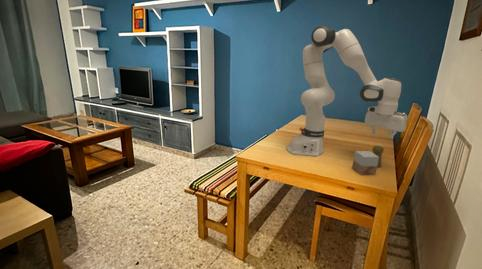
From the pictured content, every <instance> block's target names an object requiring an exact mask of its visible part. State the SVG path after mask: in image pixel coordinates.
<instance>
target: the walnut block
mask: <svg viewBox="0 0 482 269" xmlns="http://www.w3.org/2000/svg"><path fill="white" fill-rule="evenodd" d="M351 165H352V166H351V169H352V170H354V171H355V172H356V173H358V174H359V175H360V176H374V175H375V176H376V174H377V166H361V165H360V164H358V163H357V162H356V161H355V160H354V159H352V164H351Z"/></svg>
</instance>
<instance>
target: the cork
mask: <svg viewBox="0 0 482 269" xmlns="http://www.w3.org/2000/svg"><path fill="white" fill-rule="evenodd" d="M384 151H385V150H384V147H382V146H380V145H374V146H373V147H372V153H374V154H375V155H377V156H378V157H379V160H378V164H377V168H381V167H382V156H383V155H382V154H383V152H384Z"/></svg>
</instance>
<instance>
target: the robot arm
mask: <svg viewBox="0 0 482 269" xmlns="http://www.w3.org/2000/svg"><path fill="white" fill-rule="evenodd" d="M310 38H311V42H312V43H311V44H308V45H306V46H305V47H304V48H303V49H302V66H303V72H304V78H305V81H306V82H307V83H308V84H309V86H310V87H311V88H308V89H307V90H304V91H303V92H302V93H301V96H300V101H301V104H302V106H304V110H305V126H304V128H303V127H299V131H300V132H301V133H299V134H298V135H296V136H294V137H293V138H292V139H291V142H290V144H287V145H286V150H287V152H289V153H290V154H292V155H298V156H299V155H300V156H309V157H318V156H319V155H322V154H324V147H323V145H324V144H323V143H324V142H323V139H324V137H325V123H326V116H325V114H324V112H323V107H324V106H328V105H330V104H331V103H333V102H334V100H335V98H336V93H335V90H333V88H331V86H330V84H329V82H328V80H327V76H326V72H325V67H324V66H325V65H324V59H323V53H325V52H327V51H329V50H331V49H332V48H334V49H335V50H336V51H337V52H336V53H338V54H337V55H338V56H339V58H340V59H341V61H342V63H343V64H344V65H345V66H346V67H349V68H351V69H353V70H354V71H355V72H356V73H357V74H358V76H359V78H360V79H361V81H362V83H363V84H364V85H363V86H362V87H361V88H360V91H359V97H360V98H361V100H362V101H364V102H367V103H374V102H378V104H377V105H374V106H370V107H369V106H368V108H367V112H366V113H365V117H364V124H366V125H369V127H370V130H371V134H374V135H375V134H376V133H377V130H376V129H375V127H378V128H383V129H387V130H391V134H389V135H388V138H389V139H394V136H395V135H396V134H397V133H398V132H400V133H401V132H405V131H406V129H407V122H408V115H407V114H406V113H405V112H399V111H398V107H399V99H400V96H401V92H402V82H401V81H400V79H397V78H393V77H384V78H382V79H381V80H378V79H377V78H376V75H374V72H373V71H372V69H371V67H370V66H369V64H368V61H367V59H366V56H365V54H364V51H363V49H362V46H361V44H360V43H359V40H358V39H357V37H356V36H355V34H354V33H353V32H352V31H351V29H349V28H348V29H347V28H343V29H341V30H338V31H336V30H334V29H333V28H331V27H330V26H327V25H319V26H316V27H315V28H314V30H312V32H311V36H310Z"/></svg>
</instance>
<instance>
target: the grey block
mask: <svg viewBox="0 0 482 269" xmlns="http://www.w3.org/2000/svg"><path fill="white" fill-rule="evenodd" d="M353 160H355V161H356V162H357V163H358V164H360V165H361V166H377V164H378V160H379V157H378V156H377V155H375V154H374V153H373V151H370V150H355V151H354V157H353Z"/></svg>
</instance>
